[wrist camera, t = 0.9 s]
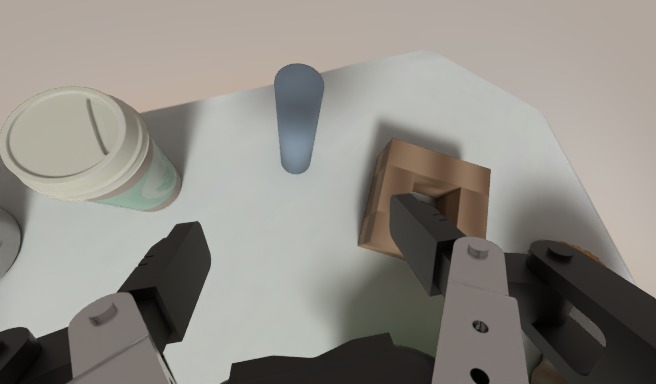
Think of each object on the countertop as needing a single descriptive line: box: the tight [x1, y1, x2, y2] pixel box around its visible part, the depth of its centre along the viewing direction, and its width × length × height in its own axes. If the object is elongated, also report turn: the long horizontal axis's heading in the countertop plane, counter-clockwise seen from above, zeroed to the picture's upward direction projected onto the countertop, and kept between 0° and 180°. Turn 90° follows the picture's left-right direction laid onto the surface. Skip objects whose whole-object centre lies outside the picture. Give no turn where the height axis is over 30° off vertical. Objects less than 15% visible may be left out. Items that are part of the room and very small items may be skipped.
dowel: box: [274, 64, 324, 174], centre depth 25 cm, size 4×4×14 cm
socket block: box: [358, 138, 491, 260], centre depth 30 cm, size 12×12×5 cm
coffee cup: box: [0, 87, 181, 212], centre depth 23 cm, size 8×8×12 cm
